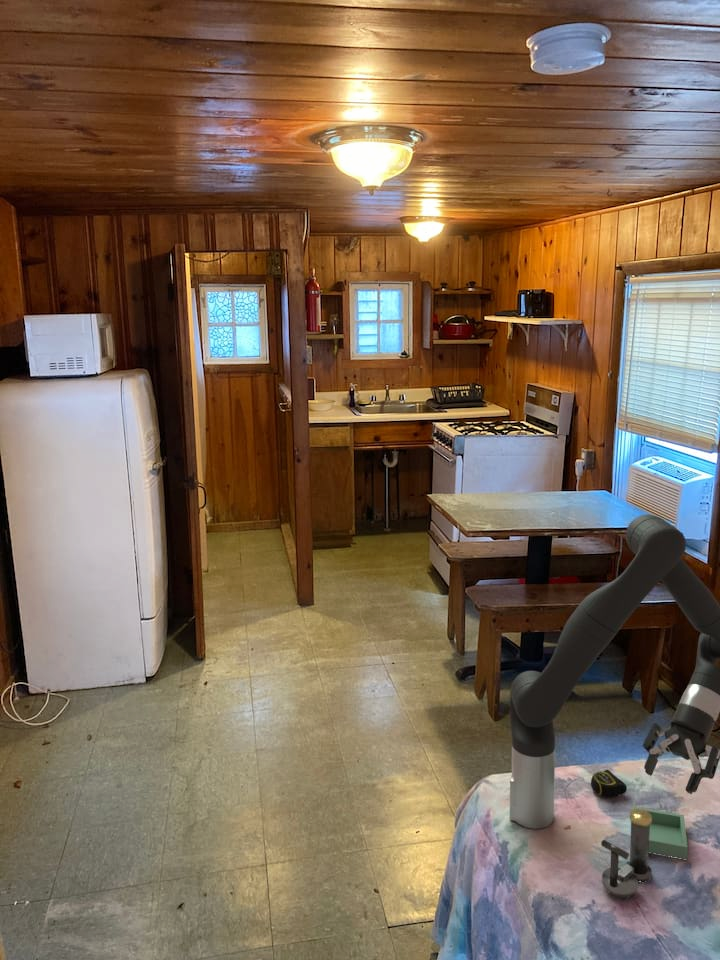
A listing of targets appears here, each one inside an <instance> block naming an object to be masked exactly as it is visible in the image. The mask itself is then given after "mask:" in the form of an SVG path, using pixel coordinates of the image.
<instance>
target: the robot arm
mask: <svg viewBox="0 0 720 960" xmlns="http://www.w3.org/2000/svg"><path fill="white" fill-rule="evenodd" d="M625 540H626V543H627V546H628V548H629V549H630V551H631V552H632V553H633V554H634V555H635V556H634V558H633V559H632V560H631V562H630V563H629V564H628V566H627V567H626V568H625V570H624V571H623V572H622V573H621V574H620V575H618V576H617V578H615V579H614V580H612V581H610V582H609V583H607V584H605V585H603V586H601V587H600V588H597V589H596V590H594V591H593V592H591V593H589V594H588V595H586V596H585V598H584V599H583V600H581V602H580V604H579V605H578V606H577V607H576V609H575V610H574V612H573V613H572V614H571V615H570V616H569V618H568V619H567V621H566V623H565V624H564V626H563V629H562V631H561V633H560V636H559V639H558V641H557V643H556V647H555V649H554V651H553V654H552V656H551V659H550V660H549V662H548V663H547V665H546V666H545V667H544V669H543V670H542V671H541V672H540V671H537V670H527V671H526V670H525V671H523V672H521V673H519V674H518V675H517V676H516V677H515V678H514V679H513V681H512V684H511V687H510V691H509V692H510V694H509V696H510V697H509V702H510V703H509V705H510V706H509V709H510V711H509V712H510V713H509V715H510V717H509V718H510V720H509V721H510V733H511V776H510V781H509V820H510V821H513V822H515V823H517V824H518V825H520V826H522V827H525V828H529V829H534V830H535V829H536V830H538V829H544V828H546V827H549V826H550V825H551V824H552V823H553V822H554V819H555V818H554V817H555V816H554V814H555V769H556V766H555V765H556V734H555V728H554V719H556V718H557V716H558V714H559V713H560V711H561V710H562V708H563V707H564V705H565V703H566V702H567V701H568V698H569V697H570V695H571V693H572V692H573V691H574V689H575V687H576V686H577V684H578V683H579V682H580V680H581V679H582V678H583V676H584V675H585V673H587V672H588V670H589V669H590V667H592V665H593V664H594V662H595V661H596V660H597V658H598V657H599V656H600V654H602V652H603V650H605V649H606V648H607V646H609V644H610V643H611V642H612V640H613V639H614V637H616V635H617V634H618V633H619V632H620V630H621V629H622V627H623V626H624V624H625V623H626V622H627V620H628V619H629V618H630V617H631V615H632V614H633V613H634V612H635V610H637V608H638V607H639V606H640V604H641V603H642V602H643V601H644V600H645V598H646V597H647V596H648V595H649V594H650V593H651V592H652V590H653V589H654V588H655V587H657V585H659V583H660V582H662V584H663V585H664V587H665V588H666V589H667V591H668V592H669V594H670V595H671V596H672V598H673V599H674V601H675V603H676V604H677V606H678V607H679V608H680V610H681V611H682V613H683V614H684V616H685V617H686V618H687V620H688V621H689V623H690V624H691V625H692V627H693V628H694V629H695V631H697V632H699V633H700V634H699V638H698V642H697V651H696V659H695V660H696V661H695V668H694V671H693V673H692V675H691V678H690V680H689V682H688V684H687V686H686V689H685V690H684V692H683V694H682V695H681V698H680V700H679V703H678V705H677V707H676V709H675V713H674V714H673V717H672V719H671V723H670V725H669V726H668V727H667V728H665V727H662V726H660V724H659V723H657V722H654V723H652V726H651V728H650V729H649V731H648V733H647V736H646V737H645V740H644V742H643V743H642V747H643V748H644V750H645V751H646V752H647V753H648V756H647V759H646V761H645V763H644V766H643V769H644V770H645V773H646V774H647V775H648V776H653V774H654V771H655V769H656V766H657V764H658V762H659V758H660V757H664V756H666V755H669V754H671V753H672V755H674V756H676V757H677V756H678V757H681V758H683V759H684V760H686V761H689V760H690V762H691V765H692V769H693V772H691V774H690V777H689V778H688V781H687V783H686V786H685V792H686V793H687V794H690V795H693V793H696V792H697V791H698V788H699V786H700V783H701V780H702V779H703V778H707V779H709V780H712V779H714V778H715V775H716V772H717V768H718V765H719V762H720V749H719V748H718V747H717V746H716V745H714V746H711V745H708V740H709V739H710V735H711V734H712V732H713V729H714V726H715V723H716V722H717V720H718V718H719V714H720V665H718V662H719V660H720V603H719V602H718V600H717V599H716V598H715V596H714V595H713V593H712V592H711V591H710V589H709V588H708V587H707V586H706V585H705V584H704V583H703V581H702V580H701V579H700V577H698V575H696V574H695V572H694V571H693V570H692V569H691V567H689V566H688V564H687V563H686V562H685V561H684V559H683V556H684V554H685V551H686V549H687V548H686V547H687V540H686V537H685V535H684V534H683V533H682V532H681V531H680V530H679V529H678V528H676V527H675V526H673V524H671V523H669V522H668V521H666V520H665V519H664V518H661V517H660V516H657V515H654V514H642V515H639V516H636V517H635V518H634V519H632V520H631V522H630V523H629V524H628V526H627V528H626V532H625ZM662 736H664V737H665V739H664V740H663V741H660V742H658V740H659V738H661V737H662ZM657 742H658V744H657ZM656 744H657V745H656ZM703 753H706V755H707V757H708V758H707V761H706V764H705V768H703V767H702V763H701V760H700V757H699V756H700V755H702V754H703Z"/></svg>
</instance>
